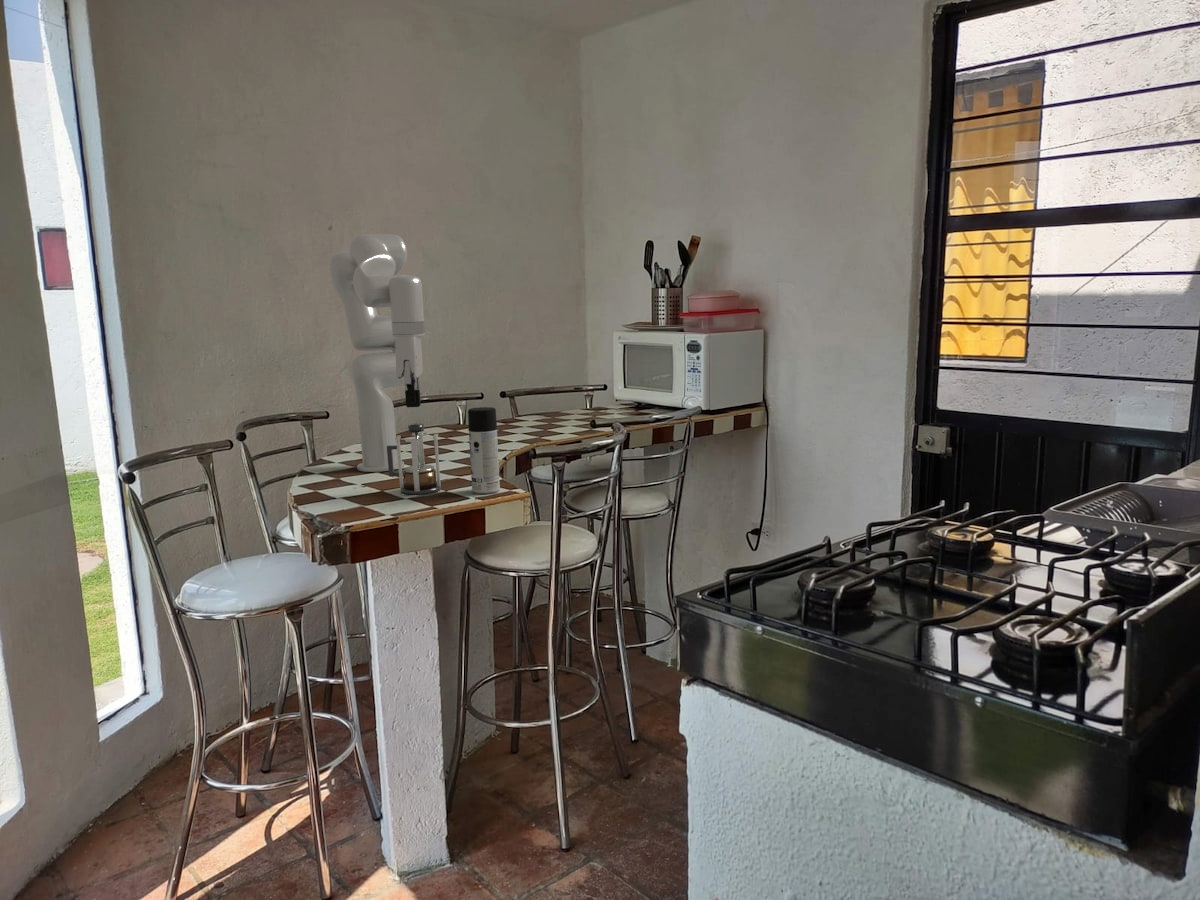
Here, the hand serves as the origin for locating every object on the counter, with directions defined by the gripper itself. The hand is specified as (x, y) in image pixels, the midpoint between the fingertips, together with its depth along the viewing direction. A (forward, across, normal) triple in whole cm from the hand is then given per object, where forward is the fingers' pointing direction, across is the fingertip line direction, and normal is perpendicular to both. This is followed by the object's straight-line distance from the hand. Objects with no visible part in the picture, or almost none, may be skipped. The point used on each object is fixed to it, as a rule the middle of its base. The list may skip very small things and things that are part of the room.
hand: (413, 406), depth 208 cm
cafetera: (+21, +1, -1) cm, 21 cm away
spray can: (+20, +5, +17) cm, 27 cm away
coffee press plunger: (+16, +1, +1) cm, 16 cm away
